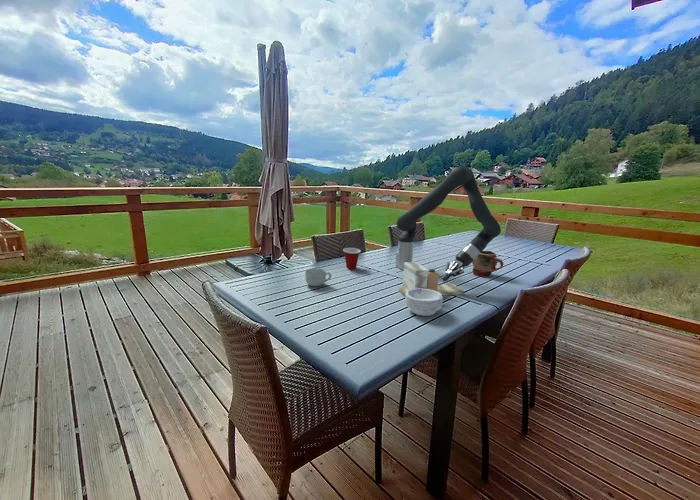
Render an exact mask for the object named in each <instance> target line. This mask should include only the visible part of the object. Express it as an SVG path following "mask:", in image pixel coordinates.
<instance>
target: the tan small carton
mask: <svg viewBox="0 0 700 500" xmlns="http://www.w3.org/2000/svg"><path fill="white" fill-rule="evenodd" d="M427 270H428V277H427V289H430V290H434V291H437V289H438V285H439V276H440V273H439V272H438V271H436V269H434V268H429V269H427Z"/></svg>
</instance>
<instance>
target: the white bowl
mask: <svg viewBox="0 0 700 500" xmlns="http://www.w3.org/2000/svg"><path fill="white" fill-rule="evenodd" d="M443 296H444V295H443ZM443 296H442V294H441V293H439V292H437V291H434V290H430V289H422V288H419V289H411V290H408V291H407V292H406V296H405V297H404V298H405V299H404V304H405V306H406V307H407V308H408V309H410V311H411V313H413V314H415V315H417V316H423V317H430V316H433V315H435V314H436V313H437V312H438V311H440V310H442V309H443V301H444V297H443Z"/></svg>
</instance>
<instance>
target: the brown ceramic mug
mask: <svg viewBox="0 0 700 500" xmlns="http://www.w3.org/2000/svg"><path fill="white" fill-rule="evenodd" d="M498 263H499V264H500V266H499V267H498V268H497V267H496V266H497V265H498ZM471 264H472V265H473V267H472V274H473V275H474V276H477V277H481V278H488V277H490V276H491V275H492V273H494V272H497V271H499V270H500V269H503V266H504V262H503V260H502V258H499V257H497V254H496V253H495V252H493V251H491V250H483V251H482V252H481V253H480V254H479V255H478V256H477V258H476V259H475V260H474V261H473V262H472V263H471Z"/></svg>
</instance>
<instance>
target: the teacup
mask: <svg viewBox="0 0 700 500" xmlns="http://www.w3.org/2000/svg"><path fill="white" fill-rule="evenodd" d="M304 273H305V277H304V278H305V283H306V284H308V286H310V287H321V286H322V285H324V283H326V282H328V281H329V280H330V279H331V278H332V274H331V273H330V272H329V271H326V269H324V268H320V267H319V268H318V267H317V268H308V269H305V270H304ZM327 275H328V278H327Z"/></svg>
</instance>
